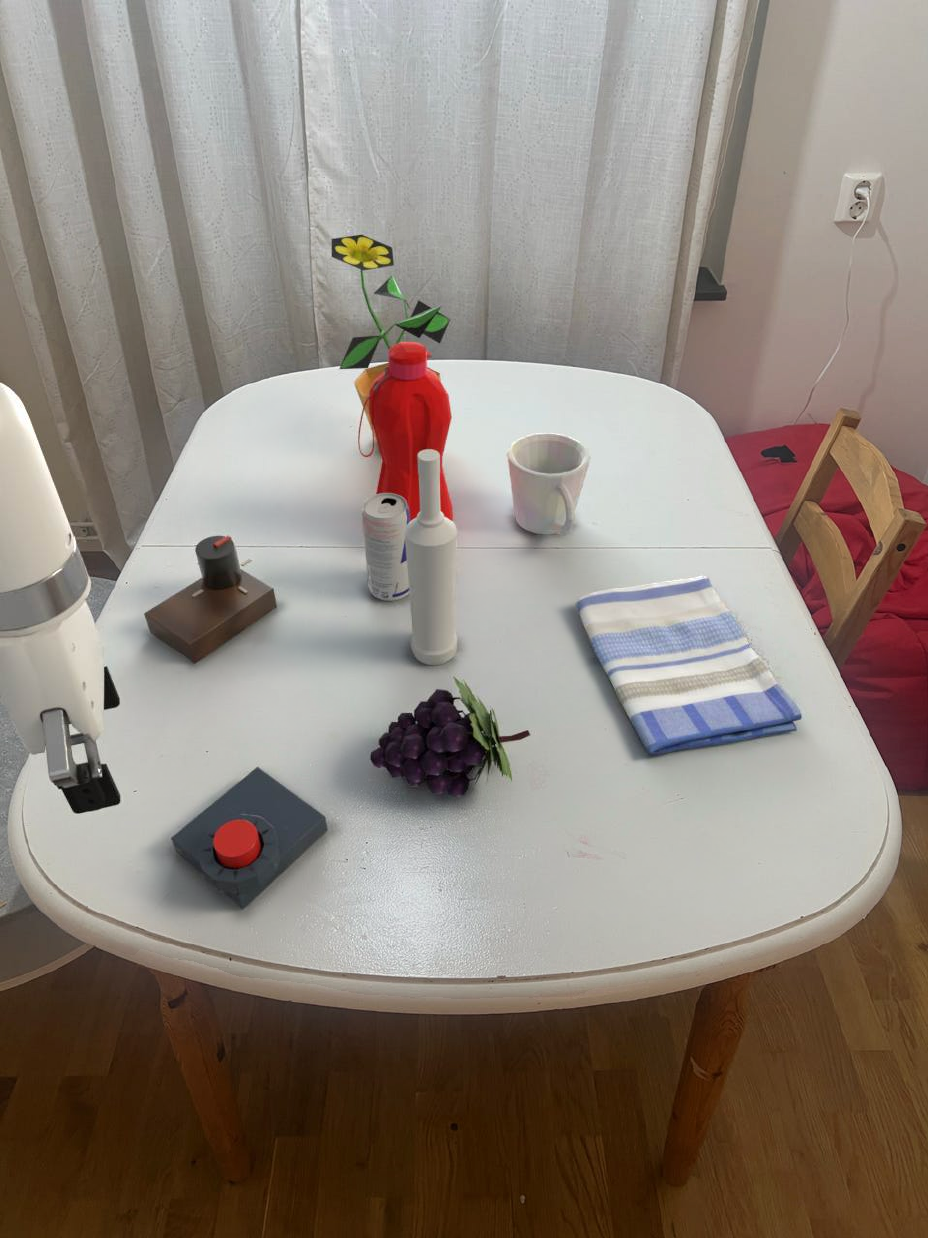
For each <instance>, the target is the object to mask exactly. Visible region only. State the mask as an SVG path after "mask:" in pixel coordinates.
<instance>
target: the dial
mask: <svg viewBox="0 0 928 1238" xmlns="http://www.w3.org/2000/svg"><path fill="white" fill-rule="evenodd" d="M194 549H195V550H194V552H195V555H196V560H197V564H198V563H199V565H198V567H199V571H200V575H201V578H202V579H203V582H204V584H205V585H206V586H207V587H209V588H211V589H217V590H221V589H227V588H230V587H232V586H234V585H236V584H237V583H238V582H239V581H240V579H241V576H242V574H241V569H242V568H241V564H240V560H239V556H238V552H237V548H236V543H235V541H234V540H233V539H232V536H230V535H228V534H227V535H211V536H207V537H206V538H203V539H202V540H200V541H199V542H198V543H197V544H196V546H195V548H194Z"/></svg>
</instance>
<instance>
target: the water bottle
mask: <svg viewBox="0 0 928 1238" xmlns="http://www.w3.org/2000/svg"><path fill="white" fill-rule="evenodd" d="M387 355H388V357H387V358H388V359H387V361H388V363H389V367H385V369H384V371H385V372H383V373H381V374H380V375H379V376H378V377H377V378H376V379H375V380H374V381H373V382H372V385H371V388H370V391H369V397H368V398H367V400H366V401H365V404H364V407H363V406H362V411H361V414H360V421H359V425H358V436H357V440H358V441H357V443H358V449H359V453H360V455H361V456H362V457H364V458H369V457H371V456H372V455H373V453H374V451H375V450H374V449H375V437H374V434H373V427H374V430H375V434H376V438H377V442H378V445H377V446H378V450H379V454H380V458H381V465H380V471H379V474H378V481H377V486H376V491H375V495H376V494H380V493H393V494H397V495H400V496H402V497H403V498H404V499H405V500H406V501H407V505H408V507H409V510H410V521H411V520H413V519H415V518H416V517H417V514H418V513H419V512H420V492H419V474H418V453H419V452H420V451H422V450H426V449H432V450H436V451H438V452H439V454H440V511H441V512H442V513H443V514H444V517H446V518H448V519H449V520H451V521H452V522H454V517H453V515H454V514H453V504H452V500H451V499H452V498H451V496H450V492H449V488H448V483H447V480H446V476H445V472H444V467H443V455H444V452H445V448H446V444H447V439H448V435H449V431H450V426H451V422H452V418H453V417H452V409H451V403H450V396H449V393H448V392H447V390H446V388H445V387H444V385H443V383H442V381H441V382H440V380H439V379H438V377H437V375H436V374H435V372H433V371H431V370H429V369H427V367H428V358H432V357H433V356H432V355H431V353H430V352H429V351H427V347H426V346H425V345H424V344H421V343H419V342H416V341H400V343H397V344H396V343H395V344H393V345H391V348H390V349H388V353H387ZM368 400H369V415H370V418H371V425H372V424H373V425H372V429H371V432H372V433H371V435H372V449H371V452H370V453H368V454H364V453H363V452H362V451H361V445H360V443H361V442H360V438H361V437H360V435H361V427H362V421H363V416H364V413H365V411H364V409H365V406H366V403H367V401H368Z"/></svg>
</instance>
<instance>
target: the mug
mask: <svg viewBox="0 0 928 1238" xmlns="http://www.w3.org/2000/svg"><path fill="white" fill-rule="evenodd" d="M506 457H507V466H508V472H509V481H510V488H511V495H512V503H513V512H514V517H515V521H516V523H517V524H518V525H519V527H521V528H522V529H523V530H525V531H527V532H530V533H533V534H535V535H536V534H537V535H554V534H555V535H556V534H558V535H563V536H564V535H567V534H569V533H570V532H572V529H573V528H574V524H575V520H576V519H575V518H576V509H577V506H578V502H579V499H580V495H581V492H582V489H583V486H584V482H585V479H586V476H587V472H588V468H589V466H590V462H591V454H590V452H589V449H588V448H587V447H586V446H585V445H584V444H583V443H582V442H581V441H579V440H577V439H575V438H574V437H571V436H567V435H564V434H561V433H553V432H552V433H551V432H543V433H533V434H527V435H524V436H522V437H519V438H518V439H515V441H514V442H512V444H510V446H509V447H508V450H507V453H506Z"/></svg>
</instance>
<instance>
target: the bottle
mask: <svg viewBox="0 0 928 1238" xmlns="http://www.w3.org/2000/svg"><path fill="white" fill-rule="evenodd" d="M418 474H419V492H420V512H419V513H418V514H417V517H416V518H415V519H413V520H411V521H410V522H409V523H408V524H407V525H406V527H405V544H406V556H407V569H408V581H409V594H408V595H409V604H410V616H411V617H410V618H411V619H410V620H411V630H412V631H411V632H412V633H411V635H410V648H411V651H412V654H413V655H414V658H415V659H416V660H417V661H419V662H420V663H422V664H424V665H428V666H439V665H444V664H446V663H448V662H450V661H451V660H452V659H453V658H454V656H455V654H456V653H457V647H458V635H457V633H456V594H457V593H456V591H457V590H456V588H457V548H458V547H457V546H458V544H457V543H458V542H457V540H458V539H457V538H458V528H457V526H456V524H455V523H454V521H453V522H452V521H451V520H449V519H448V518H446V517H444V514H443V513H442V512H441V511H440V454H439V452H438V451H436V450H432V449H426V450H422V451H420V452H419V453H418Z"/></svg>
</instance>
